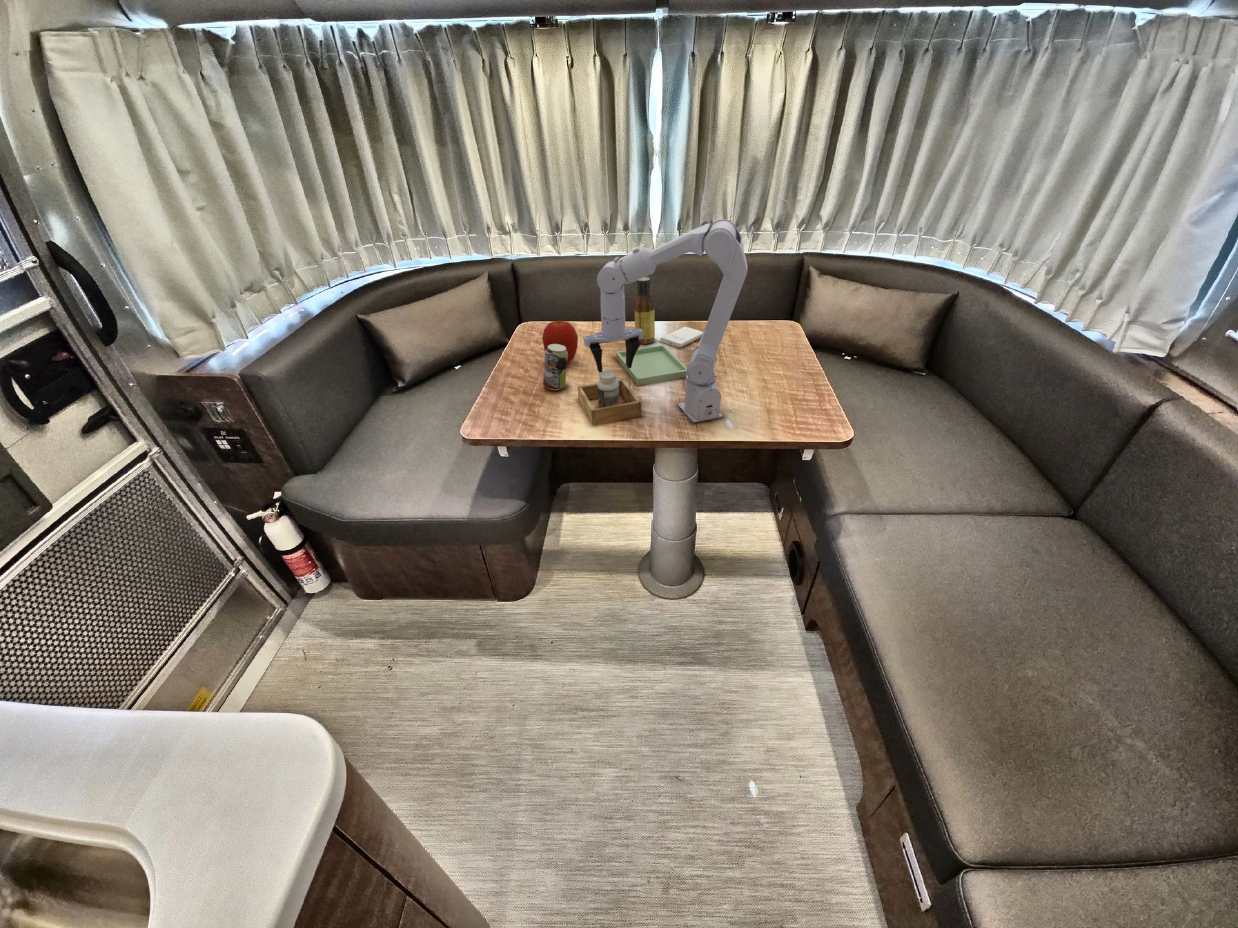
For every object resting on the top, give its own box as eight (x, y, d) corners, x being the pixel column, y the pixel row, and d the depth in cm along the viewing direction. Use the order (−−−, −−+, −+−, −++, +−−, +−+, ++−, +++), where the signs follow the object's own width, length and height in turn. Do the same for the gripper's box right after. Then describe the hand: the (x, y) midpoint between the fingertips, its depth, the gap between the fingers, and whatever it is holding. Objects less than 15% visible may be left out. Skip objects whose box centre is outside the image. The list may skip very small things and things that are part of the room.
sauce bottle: (658, 339, 173) (659, 277, 161) (648, 346, 168) (649, 283, 157) (640, 336, 176) (640, 274, 164) (630, 342, 171) (630, 280, 160)
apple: (546, 372, 155) (541, 326, 147) (543, 358, 163) (538, 313, 155) (581, 368, 156) (578, 322, 148) (577, 354, 164) (574, 310, 156)
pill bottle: (596, 403, 138) (594, 370, 132) (616, 400, 139) (615, 367, 133) (601, 414, 134) (599, 380, 128) (621, 411, 135) (620, 377, 129)
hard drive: (704, 337, 174) (680, 348, 167) (684, 330, 179) (660, 341, 171) (704, 332, 173) (680, 343, 166) (684, 326, 178) (660, 336, 170)
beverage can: (541, 384, 148) (536, 344, 141) (566, 380, 150) (563, 340, 143) (547, 394, 143) (542, 353, 136) (573, 389, 145) (570, 348, 138)
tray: (689, 376, 150) (689, 370, 149) (637, 385, 147) (637, 379, 145) (663, 350, 166) (663, 344, 164) (615, 358, 162) (615, 351, 161)
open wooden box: (641, 416, 133) (641, 402, 131) (592, 425, 130) (591, 410, 128) (623, 392, 143) (623, 378, 141) (578, 400, 140) (577, 386, 138)
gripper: (636, 307, 131) (636, 358, 138) (579, 314, 127) (582, 366, 135) (646, 316, 125) (645, 369, 133) (586, 324, 122) (589, 378, 129)
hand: (614, 368), depth 134 cm, fingers open, 7 cm apart
